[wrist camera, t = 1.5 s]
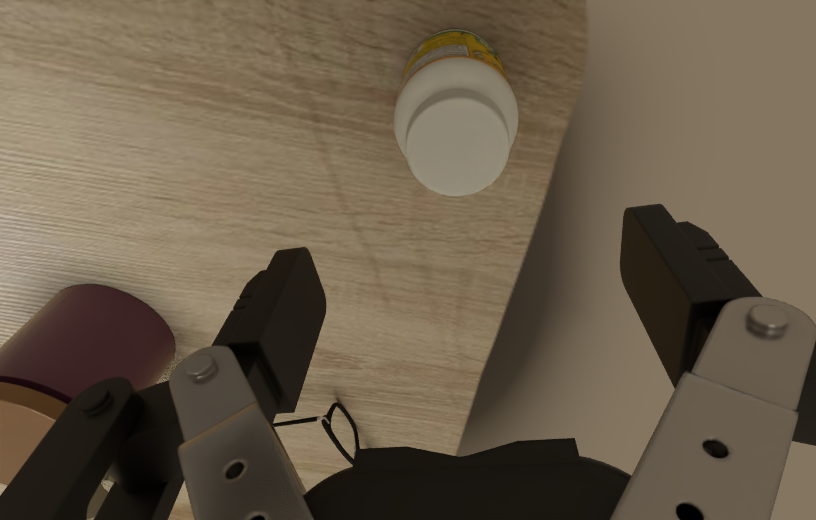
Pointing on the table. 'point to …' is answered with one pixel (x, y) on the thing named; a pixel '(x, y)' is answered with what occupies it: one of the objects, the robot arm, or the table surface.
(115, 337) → the jar
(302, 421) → the eyeglasses
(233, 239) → the table surface
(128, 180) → the table surface
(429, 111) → the supplement bottle
